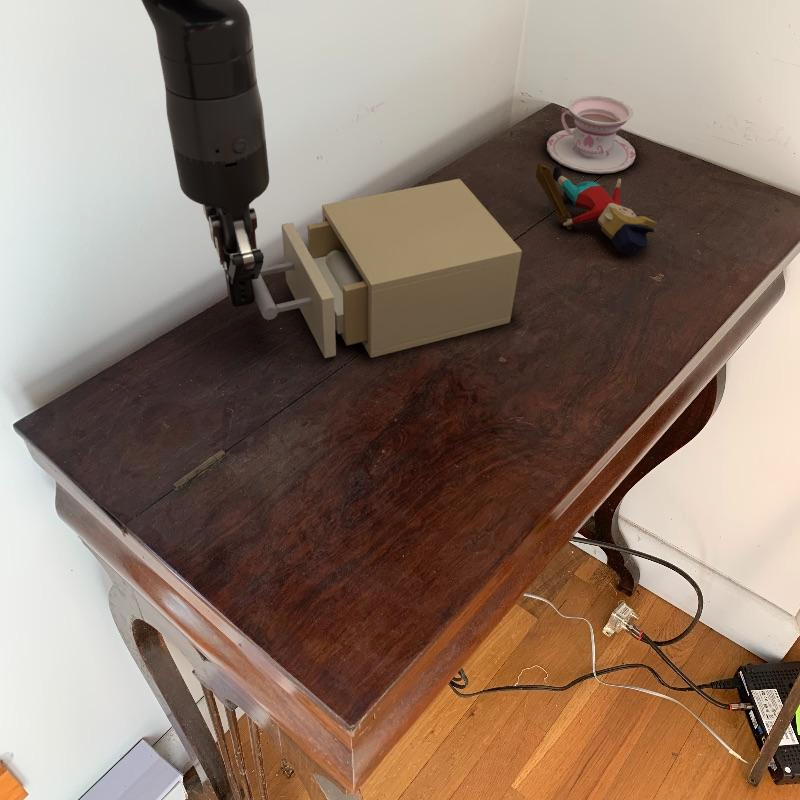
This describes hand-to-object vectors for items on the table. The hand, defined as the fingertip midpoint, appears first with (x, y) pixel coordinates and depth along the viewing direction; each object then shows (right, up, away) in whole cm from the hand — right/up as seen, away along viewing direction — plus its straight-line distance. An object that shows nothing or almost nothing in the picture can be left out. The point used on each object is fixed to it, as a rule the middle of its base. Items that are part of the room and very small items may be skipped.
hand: (241, 301), depth 78 cm
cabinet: (+17, +1, +8) cm, 19 cm away
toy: (+38, +11, +19) cm, 44 cm away
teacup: (+41, +24, +32) cm, 58 cm away
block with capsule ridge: (+10, +1, +5) cm, 11 cm away
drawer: (+10, 0, +6) cm, 11 cm away
